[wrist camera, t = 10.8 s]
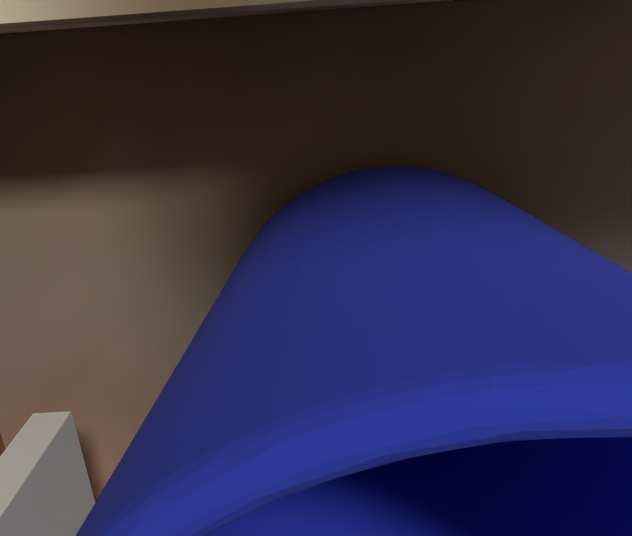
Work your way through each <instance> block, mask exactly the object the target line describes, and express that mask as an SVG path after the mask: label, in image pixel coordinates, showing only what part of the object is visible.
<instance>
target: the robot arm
mask: <svg viewBox="0 0 632 536" xmlns="http://www.w3.org/2000/svg"><path fill="white" fill-rule="evenodd" d="M94 504H95V500H94V496H93V492H92V488H91V485H90V481H89V477H88V473H87V469H86V466H85V462H84V458H83V454H82V450H81V447H80V443H79V439H78V435H77V432H76V428H75V424H74V420H73V416H72V413H71V411H70V412H50V413H33V414H32V416H31V417H30V418H29V420H28V421H27V422H26V423H25V425H24V426H23V427H22V429H21V430H20V431H19V433H18V434H17V435H16V436H15V438H14V439H13V440H12V442H11V443H10V444H9V446H8V447H7V448H6V450H5V451H4V452H3V453H2V455H1V456H0V536H76V534H77V533H78V531H79V529H80V528H81V526H82V524H83V523H84V521H85V519H86V518H87V516H88V514H89V512H90V511H91V509H92V507H93V506H94Z"/></svg>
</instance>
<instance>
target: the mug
mask: <svg viewBox="0 0 632 536" xmlns="http://www.w3.org/2000/svg"><path fill="white" fill-rule="evenodd" d="M76 536H632V273H631V272H629V271H627V270H625V269H624V268H622V267H620V266H618V265H617V264H615V263H613V262H611V261H610V260H608V259H606V258H605V257H603V256H601V255H599V254H598V253H596V252H594V251H592V250H591V249H589V248H587V247H585V246H584V245H582V244H580V243H579V242H577V241H575V240H573V239H572V238H570V237H568V236H566V235H565V234H563V233H561V232H559V231H558V230H556V229H554V228H553V227H551V226H549V225H547V224H546V223H544V222H542V221H540V220H539V219H537V218H535V217H534V216H532V215H530V214H528V213H527V212H525V211H523V210H521V209H520V208H518V207H516V206H514V205H513V204H511V203H509V202H508V201H506V200H504V199H502V198H501V197H499V196H497V195H495V194H494V193H492V192H490V191H488V190H486V189H484V188H482V187H481V186H479V185H477V184H474V183H472V182H470V181H468V180H466V179H463V178H460V177H457V176H455V175H452V174H448V173H445V172H441V171H437V170H432V169H426V168H419V167H406V166H386V167H377V168H369V169H364V170H359V171H354V172H350V173H347V174H344V175H341V176H337V177H334V178H332V179H330V180H327V181H325V182H323V183H321V184H319V185H317V186H315V187H313V188H311V189H309V190H307V191H305V192H304V193H302V194H301V195H299V196H298V197H296V198H295V199H293V200H292V201H290V202H289V203H288V204H287V205H286V206H284V207H283V208H282V209H281V210H280V211H278V212H277V213H276V214H275V215H274V216H273V217H272V218H271V219H270V220H269V221H268V222H267V223H266V224H265V225H264V227H263V228H262V229H261V230H260V232H259V233H258V234H257V235H256V237H255V238H254V239H253V241H252V242H251V244H250V245H249V247H248V248H247V250H246V251H245V253H244V254H243V256H242V258H241V259H240V261H239V263H238V264H237V266H236V268H235V269H234V271H233V273H232V274H231V276H230V278H229V279H228V281H227V283H226V284H225V286H224V288H223V289H222V291H221V293H220V295H219V296H218V298H217V300H216V301H215V303H214V305H213V306H212V308H211V310H210V311H209V313H208V315H207V316H206V318H205V320H204V321H203V323H202V325H201V326H200V328H199V330H198V331H197V333H196V335H195V336H194V338H193V340H192V341H191V343H190V345H189V346H188V348H187V350H186V352H185V353H184V355H183V357H182V358H181V360H180V362H179V363H178V365H177V367H176V368H175V370H174V372H173V373H172V375H171V377H170V378H169V380H168V382H167V383H166V385H165V387H164V388H163V390H162V392H161V393H160V395H159V397H158V398H157V400H156V402H155V404H154V405H153V407H152V409H151V410H150V412H149V414H148V415H147V417H146V419H145V420H144V422H143V424H142V425H141V427H140V429H139V430H138V432H137V434H136V435H135V437H134V439H133V440H132V442H131V444H130V445H129V447H128V449H127V450H126V452H125V454H124V455H123V457H122V459H121V461H120V462H119V464H118V466H117V467H116V469H115V471H114V472H113V474H112V476H111V477H110V479H109V481H108V482H107V484H106V486H105V487H104V489H103V491H102V492H101V494H100V496H99V497H98V499H97V501H96V502H95V504H94V506H93V507H92V509H91V511H90V512H89V514H88V516H87V518H86V519H85V521H84V523H83V524H82V526H81V528H80V529H79V531H78V533H77V534H76Z"/></svg>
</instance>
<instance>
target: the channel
mask: <svg viewBox="0 0 632 536" xmlns="http://www.w3.org/2000/svg"><path fill="white" fill-rule="evenodd" d="M438 1H452V0H0V34H3V33H17V32H30V31H44V30H57V29H71V28H85V27H98V26H112V25H125V24H139V23H153V22H166V21H180V20H193V19H207V18H221V17H234V16H248V15H261V14H275V13H289V12H302V11H316V10H329V9H343V8H357V7H370V6H384V5H397V4H411V3H425V2H438ZM4 451H5V449H4V446H3V443H2V440H1V437H0V456H1V455H2V453H3V452H4Z"/></svg>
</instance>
